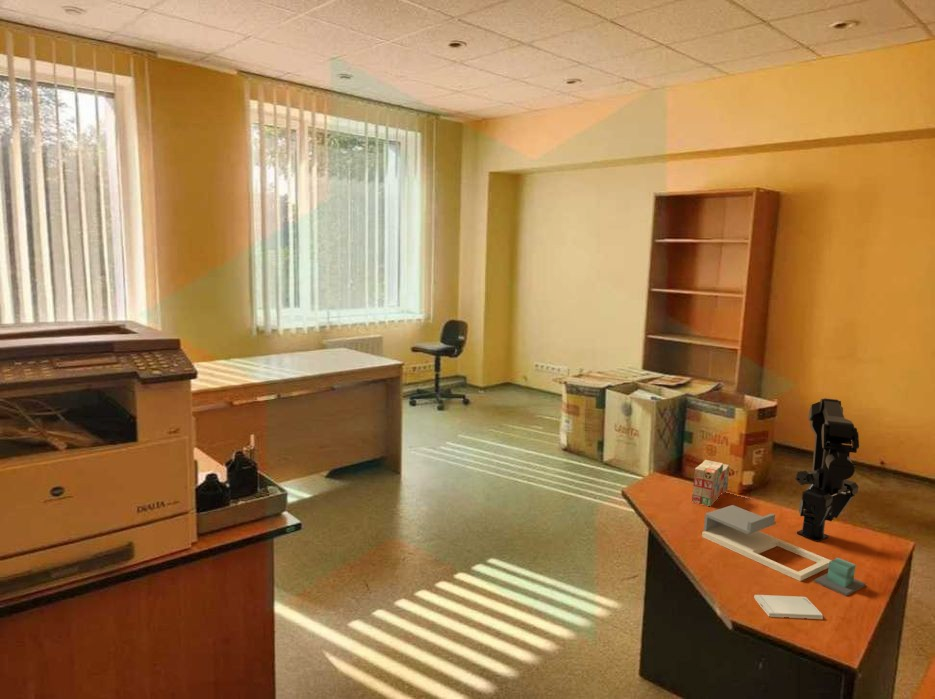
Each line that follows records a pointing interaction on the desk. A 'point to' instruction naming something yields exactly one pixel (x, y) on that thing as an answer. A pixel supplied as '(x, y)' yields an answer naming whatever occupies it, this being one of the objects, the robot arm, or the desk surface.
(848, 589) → the mat
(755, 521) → the cover
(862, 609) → the desk surface
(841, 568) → the block
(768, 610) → the hard drive
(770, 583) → the desk surface
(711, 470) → the stack of blocks
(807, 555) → the white flat frame
